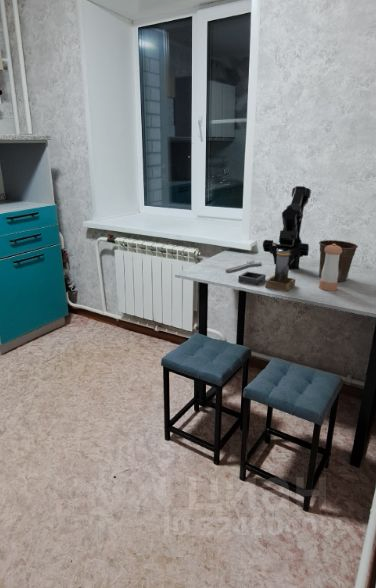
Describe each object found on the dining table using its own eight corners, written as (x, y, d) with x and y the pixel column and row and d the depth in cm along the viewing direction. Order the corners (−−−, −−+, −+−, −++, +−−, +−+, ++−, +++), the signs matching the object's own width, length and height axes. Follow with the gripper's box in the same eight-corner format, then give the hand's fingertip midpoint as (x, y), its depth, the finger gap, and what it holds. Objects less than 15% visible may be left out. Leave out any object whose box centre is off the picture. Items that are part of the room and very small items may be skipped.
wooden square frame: (273, 281, 176) (274, 275, 175) (294, 285, 171) (295, 278, 170) (265, 287, 168) (265, 280, 167) (287, 291, 164) (288, 284, 163)
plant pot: (354, 277, 185) (360, 242, 180) (348, 286, 172) (354, 249, 167) (319, 271, 193) (323, 238, 188) (310, 279, 180) (315, 244, 175)
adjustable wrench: (228, 274, 188) (228, 270, 187) (219, 271, 192) (219, 267, 192) (263, 265, 203) (263, 262, 202) (253, 262, 207) (253, 259, 207)
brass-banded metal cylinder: (282, 276, 173) (284, 248, 168) (290, 280, 168) (293, 251, 164) (271, 277, 170) (273, 249, 166) (279, 281, 165) (282, 252, 161)
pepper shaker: (315, 287, 169) (321, 243, 163) (323, 284, 174) (330, 241, 168) (331, 292, 164) (338, 246, 158) (339, 288, 169) (346, 244, 163)
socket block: (246, 276, 183) (247, 271, 182) (265, 280, 178) (265, 274, 177) (238, 281, 175) (238, 276, 174) (257, 285, 171) (257, 279, 170)
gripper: (265, 220, 168) (257, 252, 162) (311, 224, 161) (304, 257, 155) (267, 235, 177) (260, 265, 171) (311, 239, 171) (305, 271, 165)
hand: (281, 264), depth 166 cm, fingers closed on brass-banded metal cylinder, 5 cm apart
